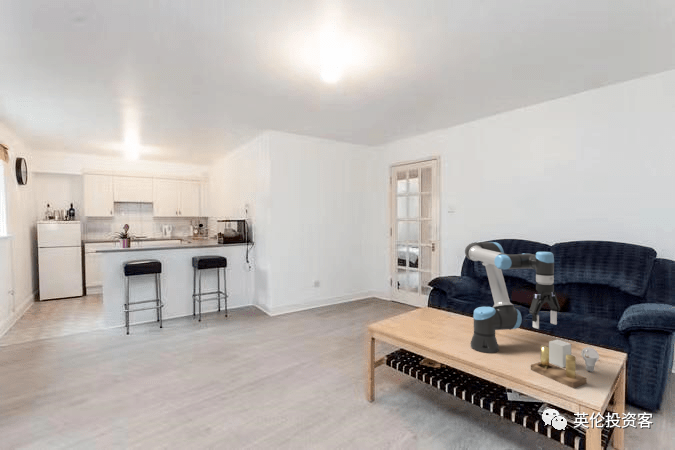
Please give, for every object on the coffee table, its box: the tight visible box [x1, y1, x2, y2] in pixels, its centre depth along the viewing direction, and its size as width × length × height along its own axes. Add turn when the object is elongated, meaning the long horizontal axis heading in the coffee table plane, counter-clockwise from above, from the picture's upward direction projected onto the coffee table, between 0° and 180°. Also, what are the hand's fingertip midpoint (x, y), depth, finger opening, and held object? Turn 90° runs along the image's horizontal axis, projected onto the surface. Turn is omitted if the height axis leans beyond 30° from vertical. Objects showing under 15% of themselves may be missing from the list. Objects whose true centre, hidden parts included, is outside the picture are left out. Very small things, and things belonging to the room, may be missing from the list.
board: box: [530, 354, 588, 389], centre depth 157 cm, size 20×10×12 cm, turn 24°
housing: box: [548, 338, 572, 369], centre depth 170 cm, size 7×7×11 cm
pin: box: [540, 345, 549, 369], centre depth 162 cm, size 4×4×12 cm
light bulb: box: [581, 346, 600, 373], centre depth 161 cm, size 7×7×12 cm
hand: (544, 325), depth 162 cm, fingers open, 13 cm apart
